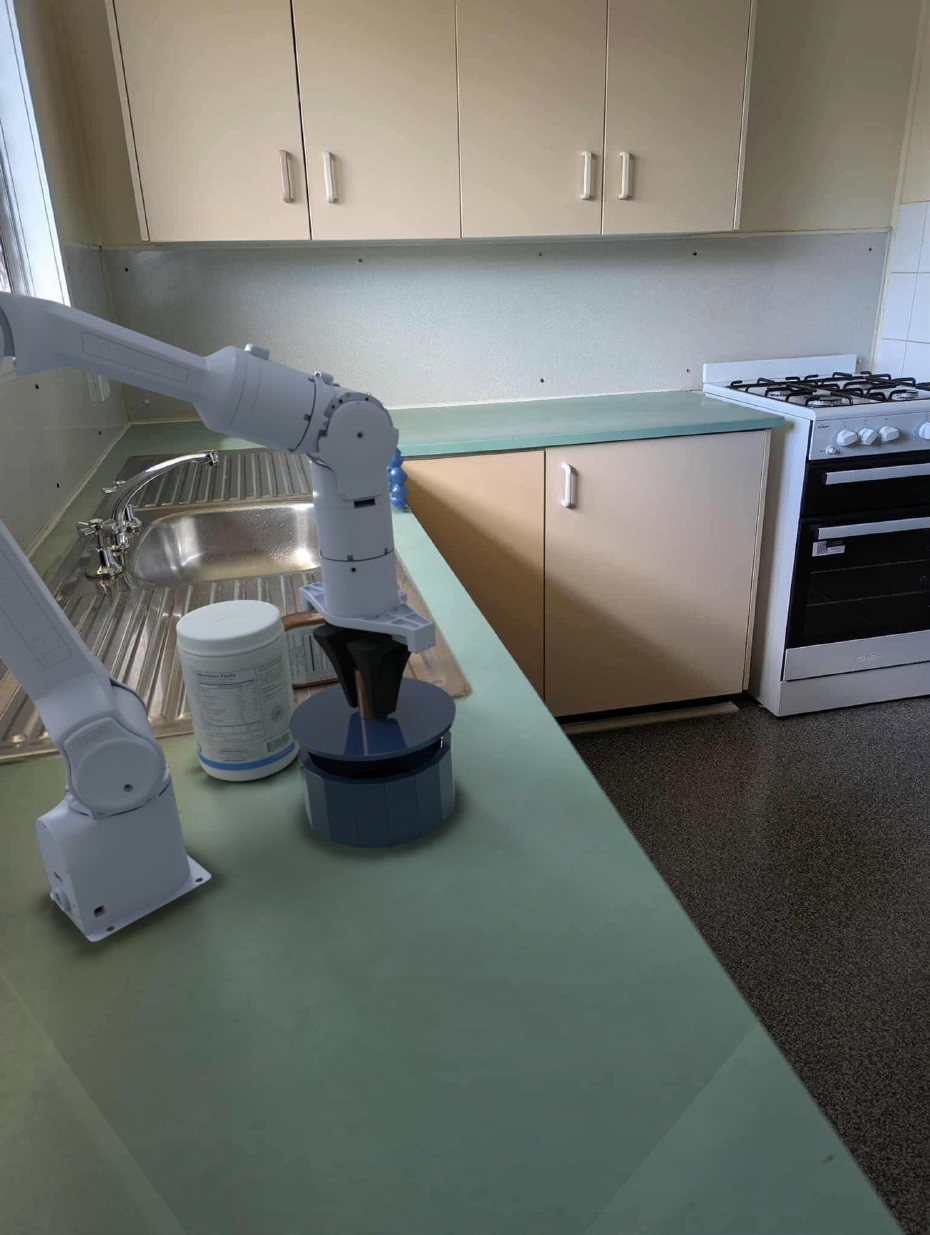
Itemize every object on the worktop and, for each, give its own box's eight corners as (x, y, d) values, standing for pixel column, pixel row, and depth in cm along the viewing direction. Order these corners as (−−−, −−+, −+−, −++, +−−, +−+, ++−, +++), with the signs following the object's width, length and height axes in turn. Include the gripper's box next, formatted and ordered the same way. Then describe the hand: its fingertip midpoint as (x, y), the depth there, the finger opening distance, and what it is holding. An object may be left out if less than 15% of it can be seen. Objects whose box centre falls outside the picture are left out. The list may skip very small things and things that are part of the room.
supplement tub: (209, 738, 88) (185, 602, 83) (304, 729, 89) (286, 594, 83) (191, 790, 79) (162, 642, 74) (297, 781, 80) (276, 632, 74)
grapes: (372, 503, 175) (366, 442, 170) (405, 499, 176) (400, 439, 172) (380, 517, 164) (374, 453, 160) (415, 513, 165) (410, 450, 161)
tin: (394, 662, 103) (388, 595, 100) (401, 672, 100) (395, 604, 97) (265, 685, 99) (255, 616, 96) (269, 697, 96) (258, 626, 93)
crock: (372, 874, 67) (364, 803, 65) (279, 812, 75) (269, 747, 73) (485, 803, 75) (482, 738, 73) (390, 754, 84) (384, 694, 81)
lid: (361, 789, 63) (354, 724, 61) (258, 729, 72) (249, 671, 70) (490, 719, 72) (488, 661, 70) (384, 674, 81) (379, 621, 79)
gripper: (461, 554, 64) (469, 717, 69) (340, 522, 74) (356, 668, 79) (387, 580, 60) (402, 752, 65) (269, 543, 69) (291, 695, 74)
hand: (372, 708), depth 72 cm, fingers closed on lid, 2 cm apart
